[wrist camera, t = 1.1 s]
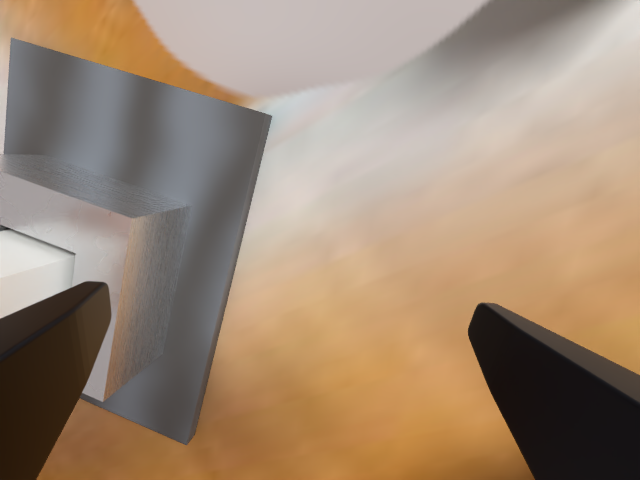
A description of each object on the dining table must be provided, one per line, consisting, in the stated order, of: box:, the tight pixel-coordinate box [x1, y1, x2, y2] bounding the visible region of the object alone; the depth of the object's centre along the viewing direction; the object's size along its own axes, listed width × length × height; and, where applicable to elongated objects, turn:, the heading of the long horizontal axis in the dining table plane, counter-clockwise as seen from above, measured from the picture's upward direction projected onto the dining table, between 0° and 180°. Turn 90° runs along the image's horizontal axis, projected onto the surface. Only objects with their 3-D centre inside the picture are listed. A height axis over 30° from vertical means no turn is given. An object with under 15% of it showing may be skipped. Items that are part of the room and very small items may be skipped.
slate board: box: [4, 38, 272, 445], centre depth 24 cm, size 16×22×1 cm
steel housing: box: [0, 154, 192, 402], centre depth 21 cm, size 10×10×5 cm
